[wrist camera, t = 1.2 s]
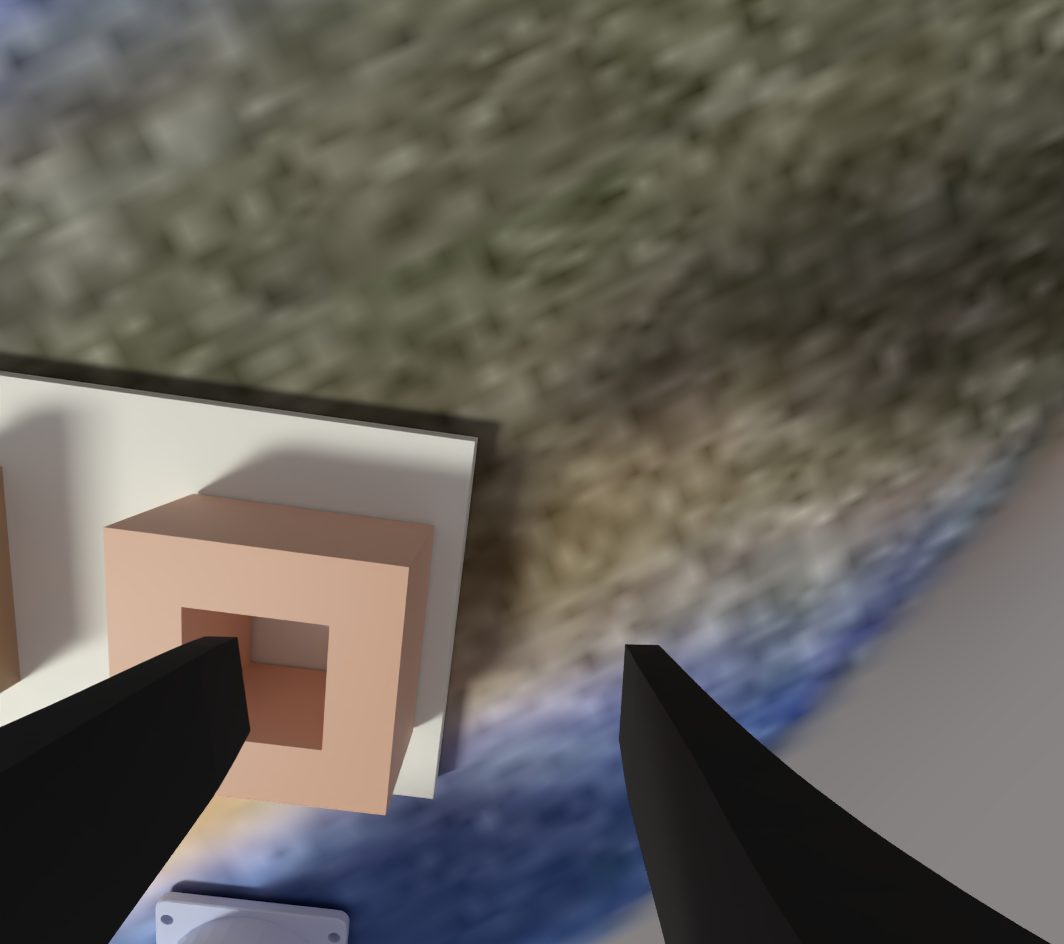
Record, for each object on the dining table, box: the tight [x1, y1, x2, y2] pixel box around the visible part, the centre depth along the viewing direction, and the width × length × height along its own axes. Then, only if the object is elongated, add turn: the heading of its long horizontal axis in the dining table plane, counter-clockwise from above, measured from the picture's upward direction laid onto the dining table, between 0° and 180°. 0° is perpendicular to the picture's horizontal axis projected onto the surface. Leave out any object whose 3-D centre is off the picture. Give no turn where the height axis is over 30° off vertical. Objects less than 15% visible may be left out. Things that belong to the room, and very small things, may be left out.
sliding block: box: [103, 494, 435, 815], centre depth 15 cm, size 8×8×4 cm
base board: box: [0, 371, 478, 799], centre depth 16 cm, size 14×18×5 cm
